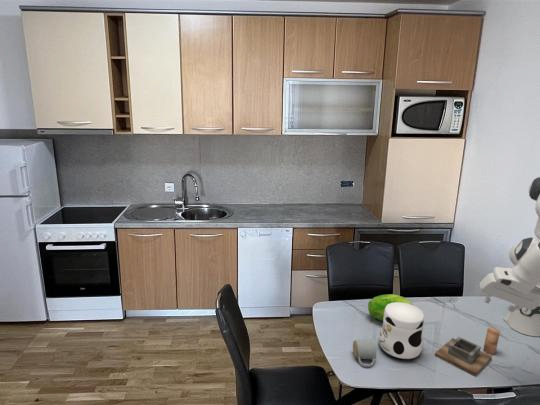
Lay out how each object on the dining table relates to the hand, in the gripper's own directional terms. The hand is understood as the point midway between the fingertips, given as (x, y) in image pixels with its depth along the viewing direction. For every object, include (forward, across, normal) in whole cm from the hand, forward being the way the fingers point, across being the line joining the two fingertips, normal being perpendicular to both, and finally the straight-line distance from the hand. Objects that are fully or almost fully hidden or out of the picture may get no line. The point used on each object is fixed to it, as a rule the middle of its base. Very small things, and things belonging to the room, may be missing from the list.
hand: (497, 306), depth 147 cm
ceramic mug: (+37, +37, +15) cm, 54 cm away
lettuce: (+43, +24, -18) cm, 52 cm away
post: (+27, -13, -4) cm, 30 cm away
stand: (+28, -1, +3) cm, 29 cm away
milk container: (+36, +23, +5) cm, 43 cm away
